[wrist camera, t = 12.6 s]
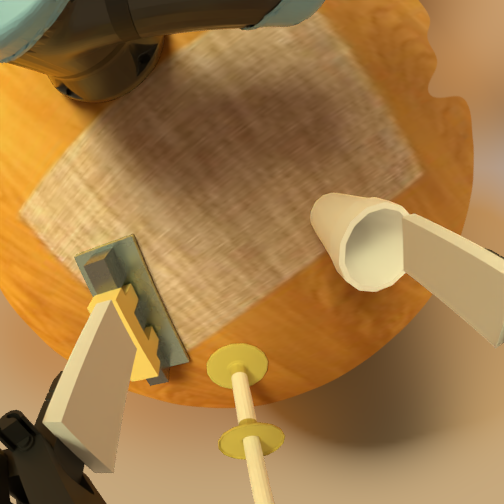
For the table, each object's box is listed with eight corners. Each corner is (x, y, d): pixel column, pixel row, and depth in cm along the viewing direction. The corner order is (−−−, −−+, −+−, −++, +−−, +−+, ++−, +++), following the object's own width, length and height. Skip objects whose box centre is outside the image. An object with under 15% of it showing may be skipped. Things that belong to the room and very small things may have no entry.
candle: (202, 385, 48) (219, 572, 18) (212, 339, 45) (238, 558, 15) (259, 389, 50) (306, 563, 20) (275, 346, 47) (346, 541, 17)
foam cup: (324, 261, 43) (366, 308, 31) (284, 213, 40) (320, 249, 28) (373, 217, 42) (429, 249, 30) (338, 166, 38) (393, 182, 26)
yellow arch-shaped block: (101, 283, 37) (87, 308, 31) (127, 274, 38) (115, 299, 32) (138, 351, 42) (132, 381, 36) (162, 345, 42) (158, 376, 36)
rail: (76, 254, 37) (63, 269, 32) (133, 233, 37) (124, 247, 33) (138, 369, 45) (134, 391, 40) (189, 357, 45) (189, 379, 41)
